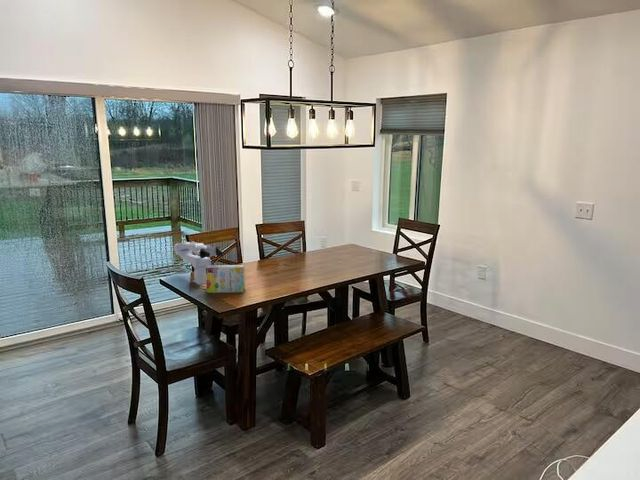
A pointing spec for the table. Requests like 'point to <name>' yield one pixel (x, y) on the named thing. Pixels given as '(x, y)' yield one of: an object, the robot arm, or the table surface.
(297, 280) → the table surface
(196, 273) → the robot arm
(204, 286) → the cork coaster
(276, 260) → the table surface
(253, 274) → the table surface
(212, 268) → the snack box
